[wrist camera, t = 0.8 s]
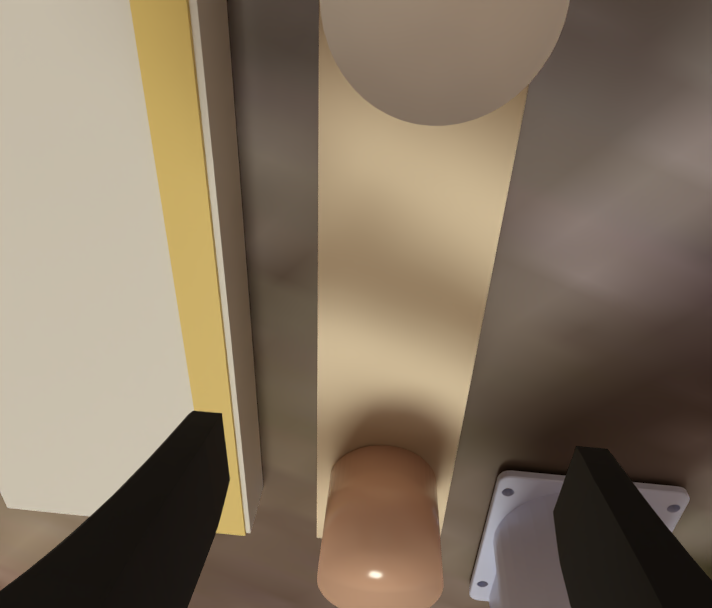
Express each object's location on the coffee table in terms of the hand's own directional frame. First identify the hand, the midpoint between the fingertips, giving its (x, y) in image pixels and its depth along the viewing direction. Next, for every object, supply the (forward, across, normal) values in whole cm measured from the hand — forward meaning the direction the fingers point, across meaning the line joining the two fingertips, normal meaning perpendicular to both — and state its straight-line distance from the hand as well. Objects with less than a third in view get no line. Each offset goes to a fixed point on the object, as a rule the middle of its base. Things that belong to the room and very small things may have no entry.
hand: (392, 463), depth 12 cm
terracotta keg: (+6, 0, +8) cm, 10 cm away
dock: (+9, +11, 0) cm, 14 cm away
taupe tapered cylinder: (+6, 0, -8) cm, 10 cm away
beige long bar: (+10, 0, 0) cm, 10 cm away
